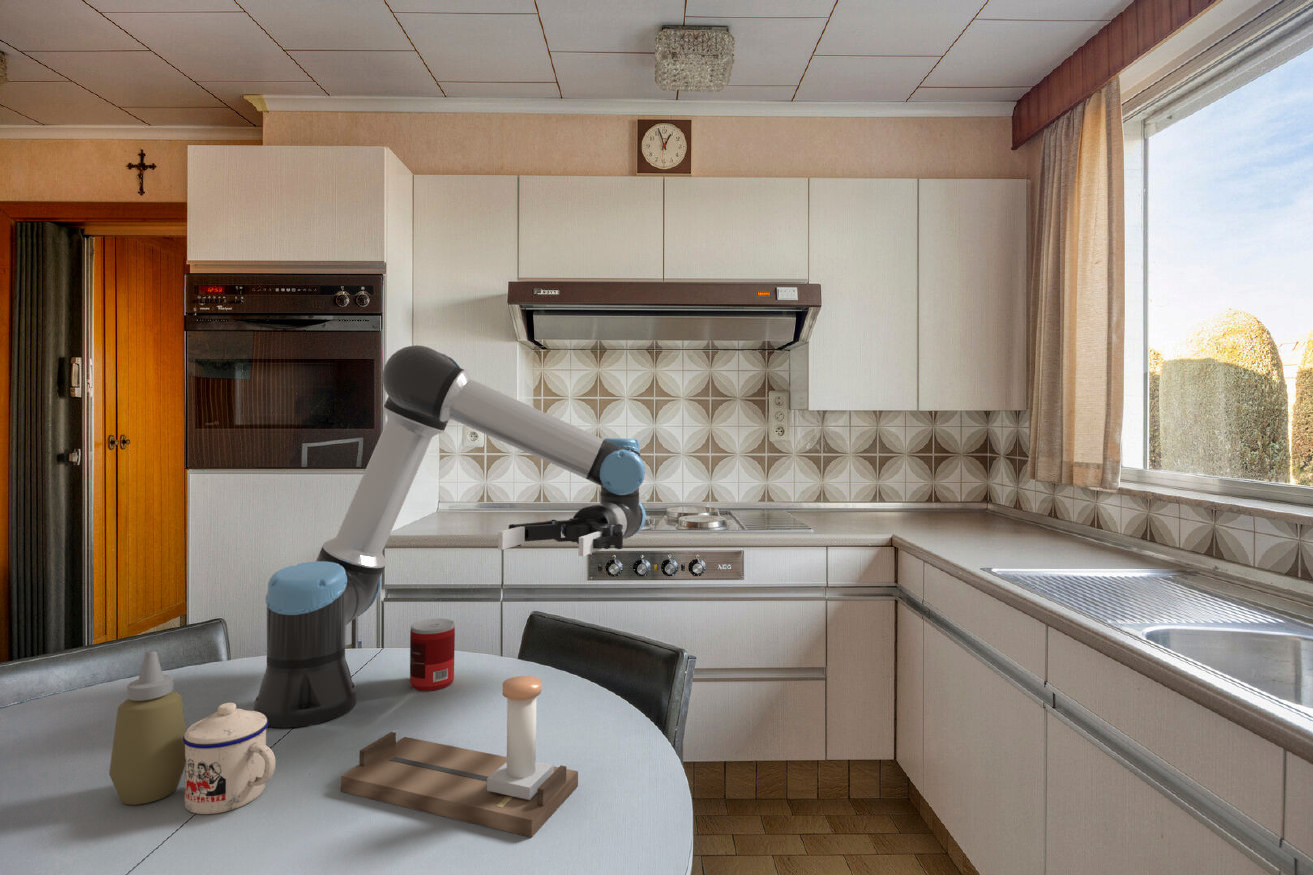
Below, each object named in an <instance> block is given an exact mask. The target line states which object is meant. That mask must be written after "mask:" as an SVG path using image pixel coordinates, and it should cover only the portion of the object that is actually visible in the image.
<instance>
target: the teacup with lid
mask: <svg viewBox="0 0 1313 875" xmlns="http://www.w3.org/2000/svg"><path fill="white" fill-rule="evenodd" d="M267 728H268V720H267V718H266V716H265V715H264V714H262V713H260V712H256V711H254V710H246V709H242V708H237V704H236V703H234V702H226V703H222V704H221V705H219V706H218V707H217V711H216V712H214V713H212V714H211V715H209V716H207V717H205V718H202V719H200V720H198V721H196V722H194V723H192V724H191V725H189V727H188V728H187V729H186V732H185V734H184V737H183V742H184V744H185V768H184V807H185V809H186V810H187V811H189V812H191V813H194V814H198V815H212V814H214V815H215V814H216V815H217V814H220V813H226V812H229V811H233V810H236V809H238V808H239V809H240V808H241V807H243V806H245V805H248V804H249V803H252V802H253V801H255V800H256V799H257V798H259V797H260V796H261V795H262V794H263V792H264V791H265V788H266V783H267V782H268V781H269V780H270V779H271V778H272V776H274V775H273V774H274V772H275V770H276V763H277V762H276V756H275V754H274V752H273V750H272V749H271V748H270V747H269V746H267Z"/></svg>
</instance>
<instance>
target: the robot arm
mask: <svg viewBox="0 0 1313 875" xmlns="http://www.w3.org/2000/svg"><path fill="white" fill-rule="evenodd" d="M382 384H383V387H384V390H385V393H386V394H387V398H386V401H385V404H384V406H383V407H382V408H383V411H384V413H385V415H386V419H387V420H386V423H385V424H384V427H383V429H382V432H381V434H380V436H379V438H378V441H377V444H375V447H374V450H373V452H372V454H371V455H370V456H371V457H370V459H369V461H368V463H367V466H366V467H365V470H364V471H363V474H362V478H361V480H360V481H359V484H358V486H357V489H356V491H355V493H354V495H353V497H352V500H351V502H350V504H349V506H348V509H347V511H346V514H345V515H344V518H343V520H342V523H341V525H340V527H339V530H338V532H337V534H336V536H335V537H334V538H330V539H329V540H326V541H325V542H323V544H322V547H321V548H320V551H319V552H318V553H319V554H318V556H317V558H316V560H315V561H309V562H308V561H307V562H301V563H297V564H296V565H289V566H287V567H284V568H280V569H279V570H277V571H276V572H275V573H273V574H272V575H271V577H270V578H269V580H268V583H267V592H266V596H265V602H266V668H265V672H264V674H263V678H262V681H261V684H260V689H259V692H258V695H257V696H256V698H255V699H254V702H253V711H256V712H260V713H262V714H264V715H265V716H266V718H267V720H268V726H267V728H268V727H270V728H278V729H279V728H281V729H282V728H283V729H284V728H285V729H286V728H298V727H300V728H301V727H306V726H311V725H316V724H320V723H324V722H327V721H330V720H333V719H336V718H338V717H341V716H342V715H344V714H346V713H347V712H350V710H352V708H354V706H355V705H356V703H357V689H356V685H355V683H354V681H353V679H352V675H351V671H350V668H349V665H348V662H347V659H346V626H347V625H348V624H349V623H350V622H352V621H353V620H355V619H356V618H357V617H360V616H362V615H363V614H364V613H365V612H367V611H368V610H369V609H370V607H372V605H373V604H374V603H375V601H376V600H377V598H378V595H379V594H380V590H381V586H382V585H381V584H382V578H381V577H382V574H383V572H384V570H385V567H386V565H387V560H386V558H385V556H384V554H383V550H384V549H385V547H386V544H387V541H388V540H389V538H390V535H391V532H392V531H393V528H394V527H395V526H394V525H395V523H396V521H397V519H398V516H399V514H400V512H401V510H402V507H403V506H404V503H405V501H406V498H407V496H408V494H409V491H410V488H411V486H412V484H413V482H414V481H415V477H416V476H417V473H418V472H419V471H418V470H419V468H420V466H421V464H422V462H423V459H424V457H425V455H426V452H427V450H428V448H429V446H430V443H431V442H432V439H433V437H435V436H437V435H440V434H441V433H444V431H445V429H447V428H446V427H447V425H448V423H449V421H450V420H453V421H454V422H457V423H460V424H461V425H464V426H466V427H468V428H471V429H473V430H475V431H477V432H480V433H482V434H484V435H487V436H489V437H491V438H493V439H494V440H497V441H499V442H502V443H505V444H506V445H509V446H512V447H513V448H516V449H517V450H520V451H522V452H524V453H527V454H529V455H532V456H534V457H536V458H539V459H541V460H543V461H545V462H547V463H550V464H552V465H554V466H557V467H558V468H561V469H563V470H565V471H567V472H570V473H572V474H574V475H577V476H579V477H582V478H583V479H586V480H587V481H589V482H592V483H594V484H596V485H599V486H600V493H599V495H600V496H599V498H600V499H599V500H600V503H597V504H593V505H590V506H585V507H583V508H580V509H579V510H578V511H577V512H576V513H575V514H574V515H573V517H572V518H569V519H565V520H564V519H563V520H557V519H551V520H550V519H549V520H546V521H535V522H526V523H511V524H509V525H508V529H504V530H500V531H498V532H497V533H498V535H497V536H498V538H497V539H498V540H497V542H498V543H497V545H498V546H497V550H499V551H500V550H502V551H503V550H505V549H506V550H507V549H510V548H514V547H521V546H522V545H523V544H525V542H535V541H536V542H537V541H548V540H549V541H550V540H551V541H552V540H554V541H556V542H558V543H562V542H563V543H565V542H572V543H576V544H577V545H578V557H586V556H587V555H590V554H592V553H596V552H599V551H601V550H602V549H605V550H609V549H611V546H614V549H616V550H622V549H623V548H624V546H623V544H624V542H623V540H624V539H628V538H631V537H633V536H634V535H636V534H637V533H639V532H640V531H641V530H642V529H643V527H644V526H645V524H646V519H647V514H646V510H645V507H644V506H643V504H642V503H641V502H640V491H639V490H640V487H641V486H642V484H643V482H644V480H645V474H646V471H645V470H646V467H645V464H644V461H643V459H642V458H641V451H640V442H639V440H638V439H636V438H623V437H622V438H618V437H617V438H615V437H611V438H610V437H607V438H602V437H599V436H597V435H596V434H595V435H594V434H592V433H591V432H588V431H587V430H584V429H581V428H579V427H577V426H575V425H573V424H571V423H568V422H566V421H564V420H562V419H559V418H557V417H555V416H553V415H551V414H549V413H546V412H544V411H542V410H540V409H538V408H536V407H534V406H531V405H529V404H526V403H525V402H522V401H520V400H519V399H515V398H514V397H512V396H509V395H506V394H504V393H502V392H500V391H497V390H495V389H493V388H491V387H490V386H488V385H485V384H483V383H481V382H478V381H476V380H474V379H472V378H470V374H469V372H468V370H466V369H464V368H461V366H460V365H459V364H458V363H457V361H455V360H454V359H453V357H450V356H449V355H446V354H445V353H442V352H439V351H437V350H435V349H432V348H430V347H428V346H425V345H417V344H416V345H409V346H405V347H402V348H401V349H398V350H397V351H395V352H394V353H393V354H392V355H391V356H390V357H389V358H388V359H387V361H386V363H385V365H384V367H383V371H382ZM562 535H563V536H564V537H562Z"/></svg>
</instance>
